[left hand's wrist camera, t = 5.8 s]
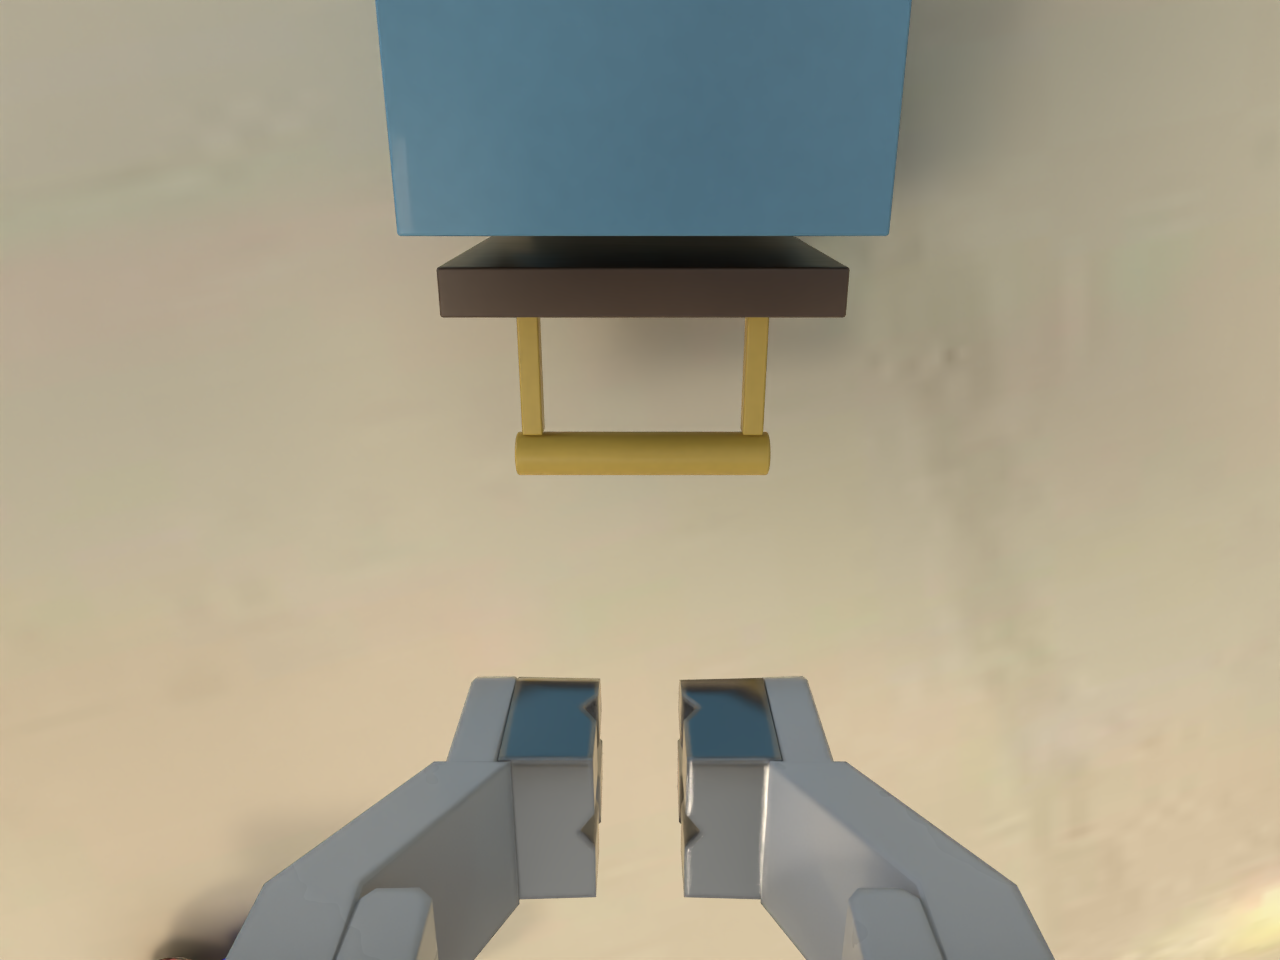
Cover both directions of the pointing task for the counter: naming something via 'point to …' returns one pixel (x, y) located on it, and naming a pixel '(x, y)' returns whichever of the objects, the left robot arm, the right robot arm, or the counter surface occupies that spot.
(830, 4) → the cabinet
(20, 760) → the counter surface
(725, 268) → the drawer
